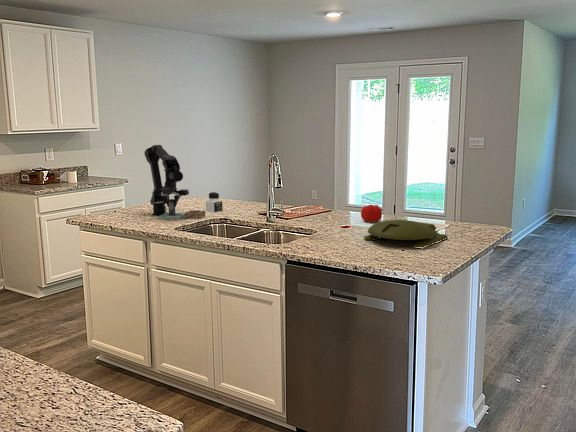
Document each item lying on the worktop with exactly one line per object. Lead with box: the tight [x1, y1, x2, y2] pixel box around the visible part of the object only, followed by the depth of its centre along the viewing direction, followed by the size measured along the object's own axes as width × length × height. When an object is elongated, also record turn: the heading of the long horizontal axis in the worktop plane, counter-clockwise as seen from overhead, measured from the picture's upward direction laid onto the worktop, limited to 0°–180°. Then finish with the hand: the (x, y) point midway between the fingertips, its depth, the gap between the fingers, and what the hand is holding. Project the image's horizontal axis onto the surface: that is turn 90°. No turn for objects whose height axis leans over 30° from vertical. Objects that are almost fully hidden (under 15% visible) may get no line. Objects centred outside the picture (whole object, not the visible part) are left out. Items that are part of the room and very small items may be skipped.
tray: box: [157, 212, 186, 221], centre depth 321 cm, size 12×12×2 cm
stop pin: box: [168, 198, 176, 217], centre depth 320 cm, size 4×4×9 cm
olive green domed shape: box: [363, 219, 448, 248], centre depth 267 cm, size 35×31×10 cm
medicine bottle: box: [205, 191, 224, 213], centre depth 342 cm, size 7×7×12 cm
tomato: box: [360, 204, 383, 223], centre depth 312 cm, size 11×12×9 cm
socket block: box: [184, 209, 206, 220], centre depth 322 cm, size 9×9×4 cm
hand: (171, 207), depth 320 cm, fingers closed on stop pin, 4 cm apart
